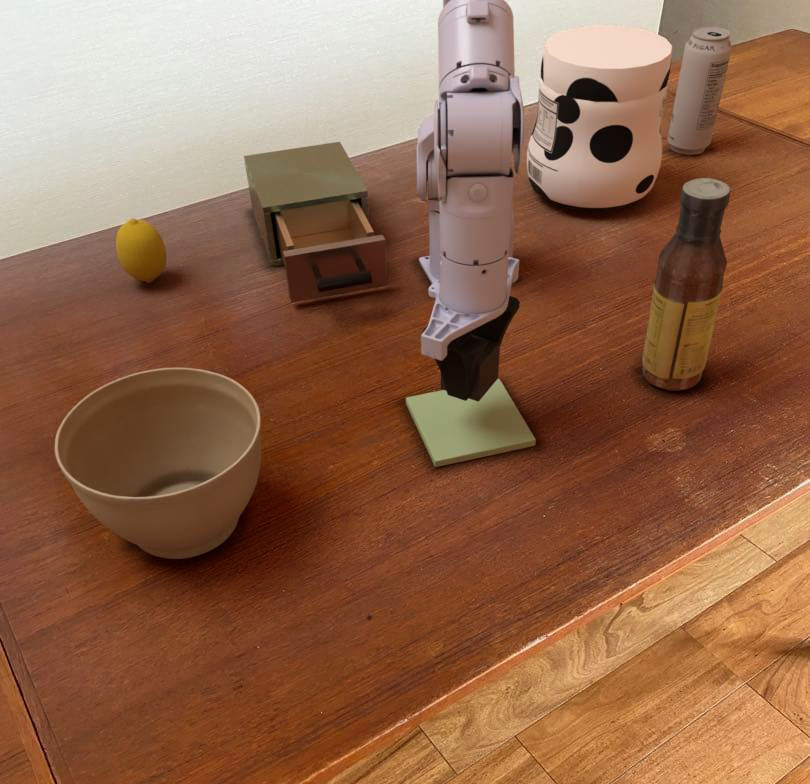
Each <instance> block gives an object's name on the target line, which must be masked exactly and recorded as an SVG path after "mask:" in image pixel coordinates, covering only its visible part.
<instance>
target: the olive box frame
mask: <svg viewBox="0 0 810 784" xmlns="http://www.w3.org/2000/svg"><path fill="white" fill-rule="evenodd" d="M243 160H244V166H245V167H244V168H245V172H246V173H245V174H246V180H247V185H248V190H249V196H250V203H251V208H252V214H253V217H254V219H255V222H256V225H257V228H258V231H259V234H260V236H261V239H262V242H263V245H264V247H265V251H266V254H267V256H268V259H269V263H270V265H271V267H278V266H285V265H284V262H283V260H282V257H281V254H280V252H279V249H278V246H277V243H276V237H275V231H274V224H273V218H272V212H278V211H284V210H290V209H296V208H303V207H309V206H315V205H321V204H327V203H334V202H340V201H346V200H352V199H356V200H357V201H358V203H359V205H360V207H361V209H362V211H363V213H364V215H365V216H366V218H367V220H368V222H369V224H370V225H371V223H370V209H369V208H370V207H369V192H368V189H367V187H366V185H365V184H364V182H363V180H362V178H361V177H360V174H359V173H358V171H357V169H356V168H355V165H354V164H353V162H352V160H351V159H350V157H349V155H348V153H347V152H346V150H345V148H344V146H343V144H342V143H341V141H336V142H335V141H334V142H329V143H321V144H315V145H308V146H301V147H296V148H288V149H280V150H275V151H274V150H273V151H267V152H261V153H255V154H247V155H243Z"/></svg>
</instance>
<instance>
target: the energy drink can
mask: <svg viewBox="0 0 810 784" xmlns="http://www.w3.org/2000/svg"><path fill="white" fill-rule="evenodd" d="M691 32H692V33H691V34H692V35H691V36H690V37H689V39H688V40H687V41H686V43H685V45H684V50H683V56H682V61H681V65H680V71H679V76H678V82H677V87H676V91H675V92H676V93H675V96H674V102H673V108H672V113H671V118H670V124H669V130H668V134H667V142H668V144H670V145H669V148H670V149H671V150H672V152H675V153H677V154H680V155H685V156H693V155H699V154H702V153H703V152H705V150H706V148H707V147H709V146H710V145H711V142H712V137H713V133H714V129H715V124H716V120H717V115H718V112H719V106H720V102H721V99H722V98H721V97H722V94H723V89H724V85H725V80H726V76H727V72H728V67H729V63H730V58H731V55H732V49H733V46H732V43H731V40H730V37H731V31H729V30H728V29H726V28H722V27H718V26H699V27H697V28H694V29H693V30H692V31H691Z"/></svg>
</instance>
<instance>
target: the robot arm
mask: <svg viewBox="0 0 810 784" xmlns="http://www.w3.org/2000/svg"><path fill="white" fill-rule="evenodd" d="M437 20H438V21H437V48H438V49H437V50H438V51H437V55H438V56H437V57H438V61H437V62H438V99H437V100H435V101H434V107H433V113H432V114H430V115H429V116H427V117H426V118H425V119H424V120H423V121H421V122H420V123H419V128H417V144H416V191H417V192H416V193H417V197H418V198H419V199H420V201H421V202H427V209H428V240H429V241H428V243H429V245H428V248H429V250H428V251H429V252H428V254H429V255H426V256H421V257H419V258H418V262H419V265H420V266H421V268H422V270H423V271H424V273H425V275H426V277H427V278H428V280H429V281H430V286H429V287H428V289H427V291H428V292H427V293H428V296H429V297H430V298H433V299H435V300H434V304H433V308H432V311H431V315H430V318H429V321H428V324H427V325H426V326H425V327H424V328H423V329H422V330H421V331H422V332H421V335H420V351H421V352H420V353H421V355H423V356H426V357H428V358H431V359H434V361H435V363H436V364H437V367H438V369H439V372H440V376H441V375H442V378H443V381H444V385H445V388H446V391H447V394H448V395H449V396H452V397H455V398H458V399H461V400H464V401H467V399H468V398H469V397H470V395H471V392H472V389H473V384H474V378H475V372H476V368H477V364H478V361H479V359H480V356H481V354H482V352H483V350H484V349H485V347H486V345H487V344H488V343H489V342H487V341H484V340H481V339H477V338H474V337H471V334H472V335H475V336H479V337H482V338H485V339H489V340H492V341H495V342H498V343H500V347H501V346H502V342H503V339H504V337H505V334H506V332H507V329H508V328H509V325H510V324H511V322H512V320H513V319H514V318H515V315H516V314H517V313H518V311H519V310H520V306H521V305H520V304H521V302H520V299H519V298H517V297H515V296H512V295H511V290H512V286H513V284H514V283H516V282H517V281H518V280H519V273H520V272H519V271H520V261H521V260H520V259H519V258H515V257H513V255H514V254H513V253H514V242H515V241H514V240H515V216H514V210H513V197H514V196H513V195H514V182H515V181H514V179H515V174H516V175H518V174H520V170H521V165H522V161H523V156H524V148H525V126H526V125H525V106H524V102H523V96H522V90H521V87H520V77H519V76H518V75H516V67H515V65H516V64H515V29H514V14H513V10H512V8H511V6H510V5H509V4H508V3H507V1H506V0H442V9H441V11H440V13H439V16H438V19H437ZM512 155H513V166H514V171H513V168H512V167H511V166H512V165H511V164H512ZM514 172H515V174H514Z"/></svg>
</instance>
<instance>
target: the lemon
mask: <svg viewBox="0 0 810 784" xmlns="http://www.w3.org/2000/svg"><path fill="white" fill-rule="evenodd" d="M165 245H166V244H165V242H164V240H163V238H162V236H161V234H160V233H159V231H158V230H157V229H156V227H155V226H154V225H152V224H151V223H149V222H147V221H145V220H142V219H137V218H135V217H133V218H132V217H131V218H130V219H129V220H127V222H125V223H124V224H122V225H121V226H120V228H119V229H118V231H117V234H116V237H115V251H116V256H117V258H118V261H119V263H120V266H121V267H122V269H123V271H125V273H126V274H127V275H129V276H130V277H131V278H133V279H135V280H137V281H141V282H142V281H143V282H146V283H147V284H150V283H152V282H154V280H155V279H157V278H158V277H159V276H160V275H162V273H163V272H164V270H165V268H166V265H167V250H166V246H165Z"/></svg>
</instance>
